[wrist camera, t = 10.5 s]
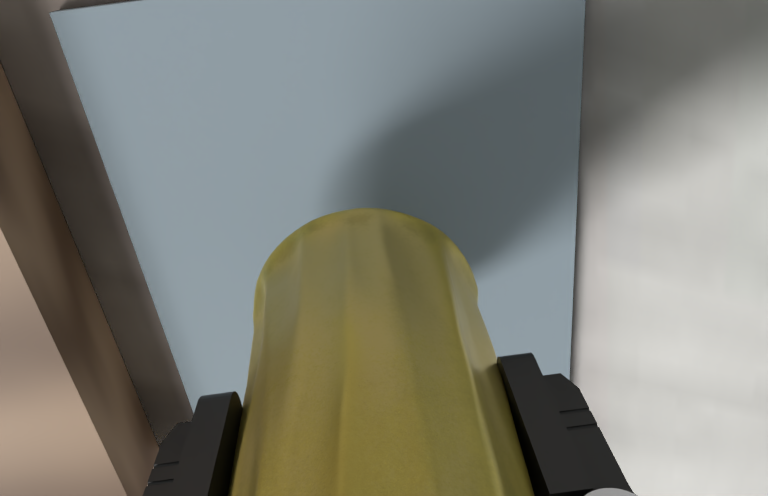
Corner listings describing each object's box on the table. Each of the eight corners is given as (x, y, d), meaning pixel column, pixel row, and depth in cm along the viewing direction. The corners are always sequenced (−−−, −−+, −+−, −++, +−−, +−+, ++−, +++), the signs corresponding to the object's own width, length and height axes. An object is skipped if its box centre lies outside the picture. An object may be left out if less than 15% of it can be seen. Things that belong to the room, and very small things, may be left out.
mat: (57, 10, 16) (49, 12, 15) (581, -59, 16) (588, -59, 15) (210, 443, 23) (207, 452, 23) (564, 396, 23) (568, 406, 23)
